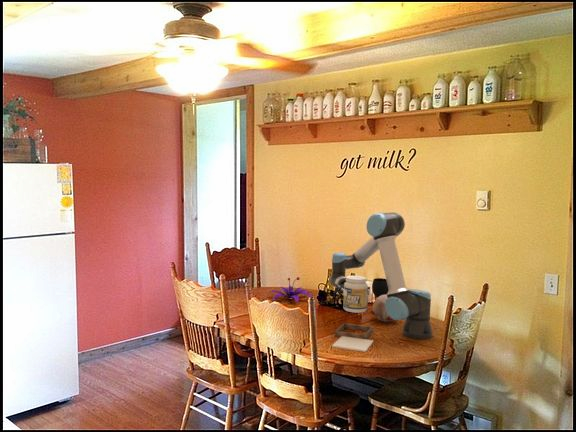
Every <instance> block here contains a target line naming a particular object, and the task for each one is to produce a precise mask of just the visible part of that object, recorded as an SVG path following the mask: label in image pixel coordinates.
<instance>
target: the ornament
mask: <svg viewBox="0 0 576 432" xmlns="http://www.w3.org/2000/svg"><path fill="white" fill-rule="evenodd" d="M387 299H388V298H387V295H381V296H379V297H378V298H377V297H376V298H375V300H374V301H373V305H372V311H373V312H374V316H375V318H377V319H378V320H379V321H381V322H385V323H387V322H392V321H395V320H394V319H392V318H391V317H390V316H389V315H388V314H387V312H386V310H385V303H386V300H387Z"/></svg>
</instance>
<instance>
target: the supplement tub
mask: <svg viewBox="0 0 576 432" xmlns="http://www.w3.org/2000/svg"><path fill="white" fill-rule="evenodd" d="M345 277H346V282H345V283H344V289H345V290H346V291H347V296H344V295H343V304H342V307H343V310H345V311H346V312H350V313H354V314H355V313H357V314H358V313H359V314H360V313H364V312H366V311H367V310H368V295H367V294H368V287H369V285H368V283H367V277H366V276H362V275H347V276H345Z"/></svg>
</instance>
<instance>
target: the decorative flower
mask: <svg viewBox="0 0 576 432" xmlns="http://www.w3.org/2000/svg"><path fill="white" fill-rule="evenodd" d="M287 281H289V283H288V287H283V286H279V288H280V290H270V292H268V294H270V293H277V294H274V296H273V297H272V301H273V300H276V299H277V298H279V297H283V296H284V297H285V298H287V299H289V298H293V300H295V302H297V303H298V302H299V299H300V297H299V295H307V296H308V297H310V298H311V297H313V296H312V295H311V294H310V292H309V291H308V290H307V289H302V288H303V287H302V286H300V287H297V288H296V289H294V286H293V285H294V283H295V282H296V281H300V277H299V276H297V277H296V279H295V280H294V281H293V282H292V285H291V278H290V277H288V278H287ZM268 294H267V295H268Z"/></svg>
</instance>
